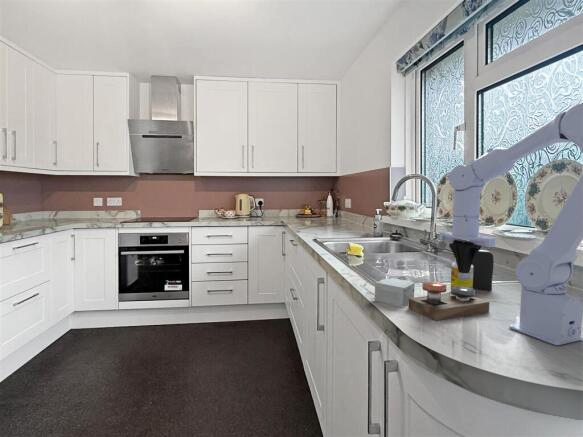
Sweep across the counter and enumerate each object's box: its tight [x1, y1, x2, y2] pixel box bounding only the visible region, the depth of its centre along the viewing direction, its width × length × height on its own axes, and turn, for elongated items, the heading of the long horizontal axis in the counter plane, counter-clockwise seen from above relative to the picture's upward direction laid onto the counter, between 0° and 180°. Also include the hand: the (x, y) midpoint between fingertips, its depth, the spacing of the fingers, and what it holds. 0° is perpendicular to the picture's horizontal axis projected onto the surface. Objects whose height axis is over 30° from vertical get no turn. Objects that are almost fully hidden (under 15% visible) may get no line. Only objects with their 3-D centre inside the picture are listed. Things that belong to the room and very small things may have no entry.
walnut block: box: [407, 292, 490, 322], centre depth 83 cm, size 9×16×2 cm, turn 111°
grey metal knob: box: [450, 286, 476, 302], centre depth 85 cm, size 5×5×4 cm
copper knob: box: [421, 281, 447, 304], centre depth 82 cm, size 5×5×4 cm
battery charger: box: [472, 249, 495, 291], centre depth 103 cm, size 7×4×11 cm, turn 66°
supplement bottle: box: [450, 258, 473, 289], centre depth 98 cm, size 6×6×10 cm
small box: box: [374, 277, 416, 308], centre depth 91 cm, size 8×8×5 cm
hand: (463, 272), depth 85 cm, fingers closed
